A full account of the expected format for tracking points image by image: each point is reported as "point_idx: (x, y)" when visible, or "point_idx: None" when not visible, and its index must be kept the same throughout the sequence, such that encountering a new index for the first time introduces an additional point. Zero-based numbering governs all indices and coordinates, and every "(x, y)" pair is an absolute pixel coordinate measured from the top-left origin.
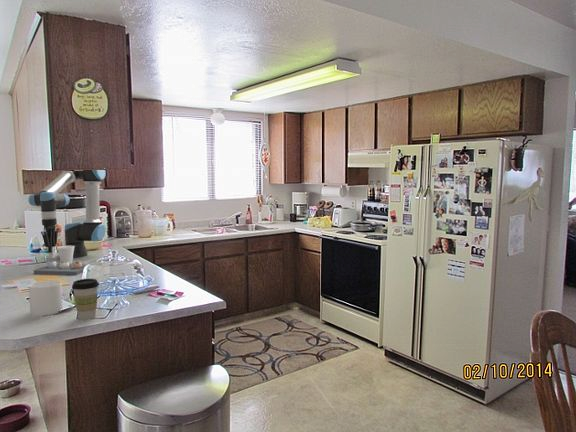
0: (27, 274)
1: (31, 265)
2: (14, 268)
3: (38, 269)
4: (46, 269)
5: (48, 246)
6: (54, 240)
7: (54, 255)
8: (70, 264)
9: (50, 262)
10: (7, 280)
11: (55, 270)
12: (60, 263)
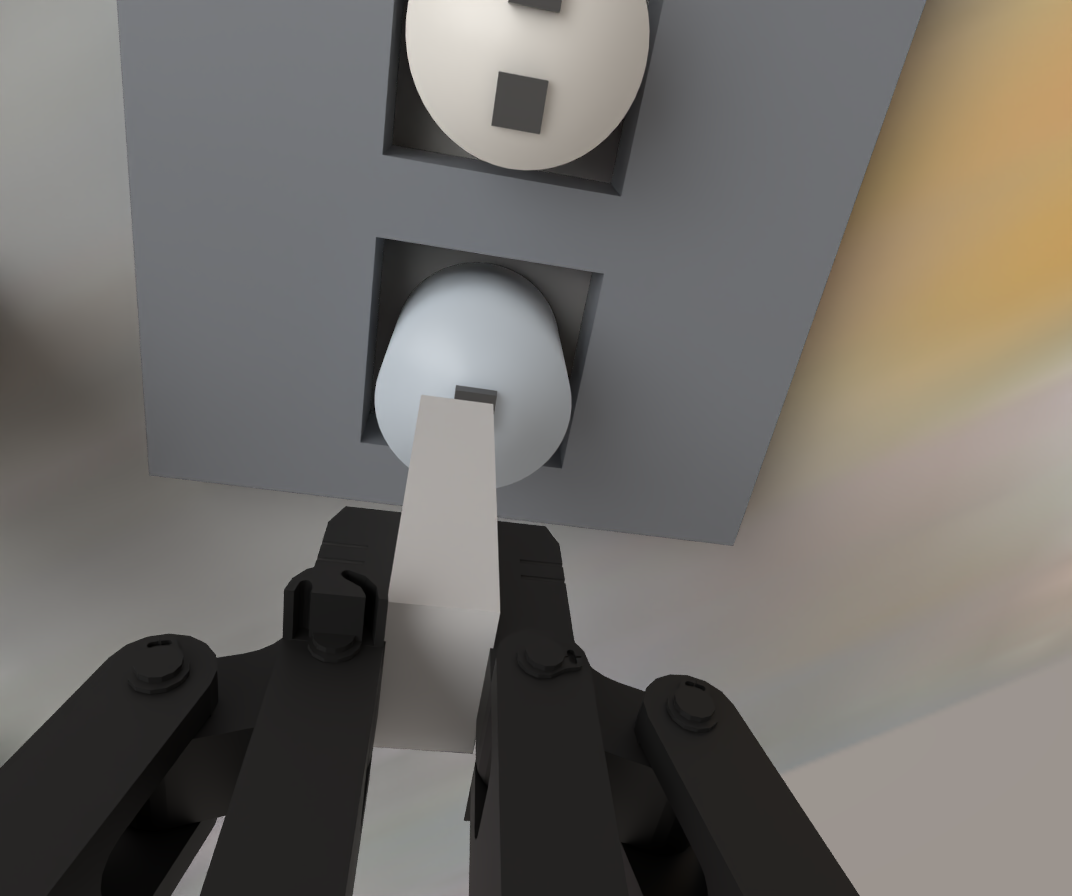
0: (738, 577)
1: None
2: None
3: (667, 504)
4: (693, 365)
5: (719, 709)
6: (231, 869)
7: (430, 422)
8: (186, 38)
9: (500, 420)
10: (1048, 643)
11: (832, 123)
12: (621, 117)
